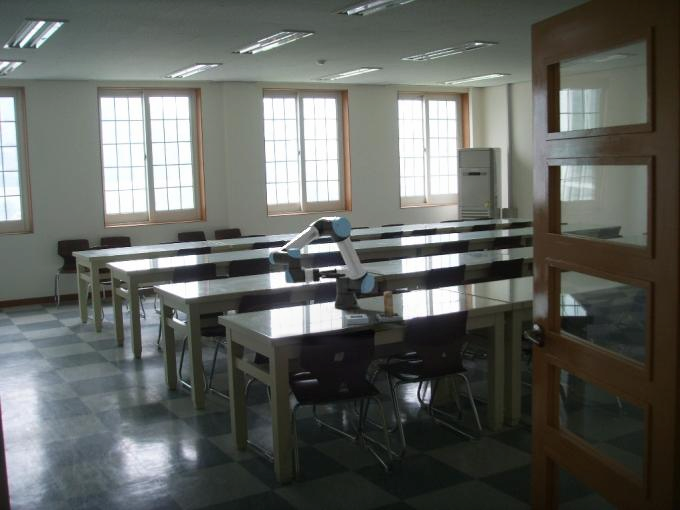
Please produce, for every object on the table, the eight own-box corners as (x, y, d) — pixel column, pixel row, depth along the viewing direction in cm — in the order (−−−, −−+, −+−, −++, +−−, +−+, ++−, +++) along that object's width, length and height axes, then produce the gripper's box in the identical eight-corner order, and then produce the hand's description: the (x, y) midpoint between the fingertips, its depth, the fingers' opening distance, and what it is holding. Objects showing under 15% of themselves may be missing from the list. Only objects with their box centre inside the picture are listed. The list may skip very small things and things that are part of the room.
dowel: (384, 317, 433) (382, 291, 432) (392, 316, 434) (391, 291, 432) (385, 319, 428) (384, 293, 427) (394, 318, 429) (393, 292, 427)
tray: (376, 318, 437) (376, 314, 437) (398, 316, 438) (398, 312, 438) (380, 322, 424) (379, 318, 424) (402, 321, 426) (402, 316, 425)
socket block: (345, 320, 435) (344, 315, 434) (365, 319, 436) (365, 314, 436) (347, 324, 423) (347, 319, 422) (368, 323, 424) (368, 317, 424)
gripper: (311, 278, 439) (347, 276, 441) (314, 285, 414) (352, 282, 416) (310, 266, 438) (346, 264, 440) (313, 271, 413) (351, 269, 415)
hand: (349, 273), depth 428 cm, fingers open, 13 cm apart
